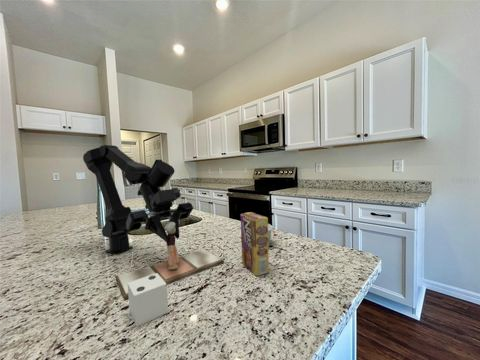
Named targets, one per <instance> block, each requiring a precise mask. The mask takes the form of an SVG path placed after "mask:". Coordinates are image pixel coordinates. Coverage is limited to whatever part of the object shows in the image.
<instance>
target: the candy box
mask: <svg viewBox="0 0 480 360" xmlns="http://www.w3.org/2000/svg"><path fill="white" fill-rule="evenodd" d="M268 224H269V217H267V216H264V215H261V214H257V213H256V212H253V211H251V212H250V211H249V212H244V213H240V227H241V229H240V235H241V236H240V238H241V241H240V242H241V265H243V266H244V267H245V268H246V269H248V270H249V271H250V272H251V273H252V274H254V275H255V276H256V277H258V276H263V275H266V274H269V273H270V272H269V271H270V268H269V267H270V265H269V246H268Z"/></svg>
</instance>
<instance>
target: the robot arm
mask: <svg viewBox="0 0 480 360" xmlns="http://www.w3.org/2000/svg"><path fill="white" fill-rule="evenodd" d="M82 161H83V162H84V164H85V166H86V167H87V169H88V171H90V172H91V173H93V174H94V175H95V178H96V181H97V184H98V186H99V188H100V189H99V190H100V192H101V195H102V197H103V200H104V203H105V206H106V209H107V210H106V211H107V212H106V214H105V216H104V217H105V218H104V220H105V224H104V226H103V227H102V229H101V234H102V237H105V238H108V242H109V244H108V245H109V248H108V249H107V250H105V253H109V254H114V255H119V254H121V253H124V252H126V251H129V250H131V249H133V246H132V245H130V239H129V233H130V232H133V231H137V230H140V229H141V227H142V226H143V225H142V223H144V224H145V226H144V230H145V231H148V230H149V231H150V232H152V233H153V234H154V235H156V236H158V237H159V238H161V239H162V240H163V241H164V242H165V243H166V242H168V240H169V239H168V236H167V235H168V233H167V231H166V230H164V227H165V226H163V224H162V220H161V219H166V218H167V219H168V220H169V221H168V222H174V223H175V228H176V231H175V233H174V236H175V239H177V240H179V239H180V226H179V225H180V224H179V222H180V221H181V220H186V219H188V218H189V216H190V215H191V213H192V212H193V210H194V205H193V204H192V203H191V202H189V201H188V202H182V203H178V205H177V206H176V208H172V207H173V205H174V203H173V202H175V201H177V199H180V197H181V192H180V190H179V188H178V187H172V188H171V189H170V188H169V189H161V188H163V187H165V186H166V185H167V184H168V183H169V181H170V180H171V178H172V177H173V175H174V174H175V168H174V167H173V166H172V165H170V164H169V163H167V162H166V161H163V159H155V160H154V162H153V164H152V166H151V167H150V166H148V165H147V164H145V163H140V162H137V161H135V160H134V159H132V157H130V156H128V155H127V154H125V152H123V151H122V150H120V149H119V147H118V146H116V145H109V144H104V145H103V144H102V145H100V146H99V147H96V148H92V149H89V150H87V151H86V152H85V153H84V154H83V156H82ZM113 164H114V165H115V166H116V167H117V168H119V169H120V170H121V171H122V172H123V173H124V174H123V177H124V179H126V181H127V182H128V183H129V184H130V185H139V189H138V191H137V196H142V199H143V201H144V203H145V206H144V208H145V209H140V210H134V211H132V209H131V208H130V206H125V205H123V203H122V200H121V197H120V195H119V192H118V189H117V187H116V182H115V180H114V177H113V174H112V172H111V168H112V165H113ZM171 208H172V209H171ZM147 209H148V212H147V211H146V210H147Z"/></svg>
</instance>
